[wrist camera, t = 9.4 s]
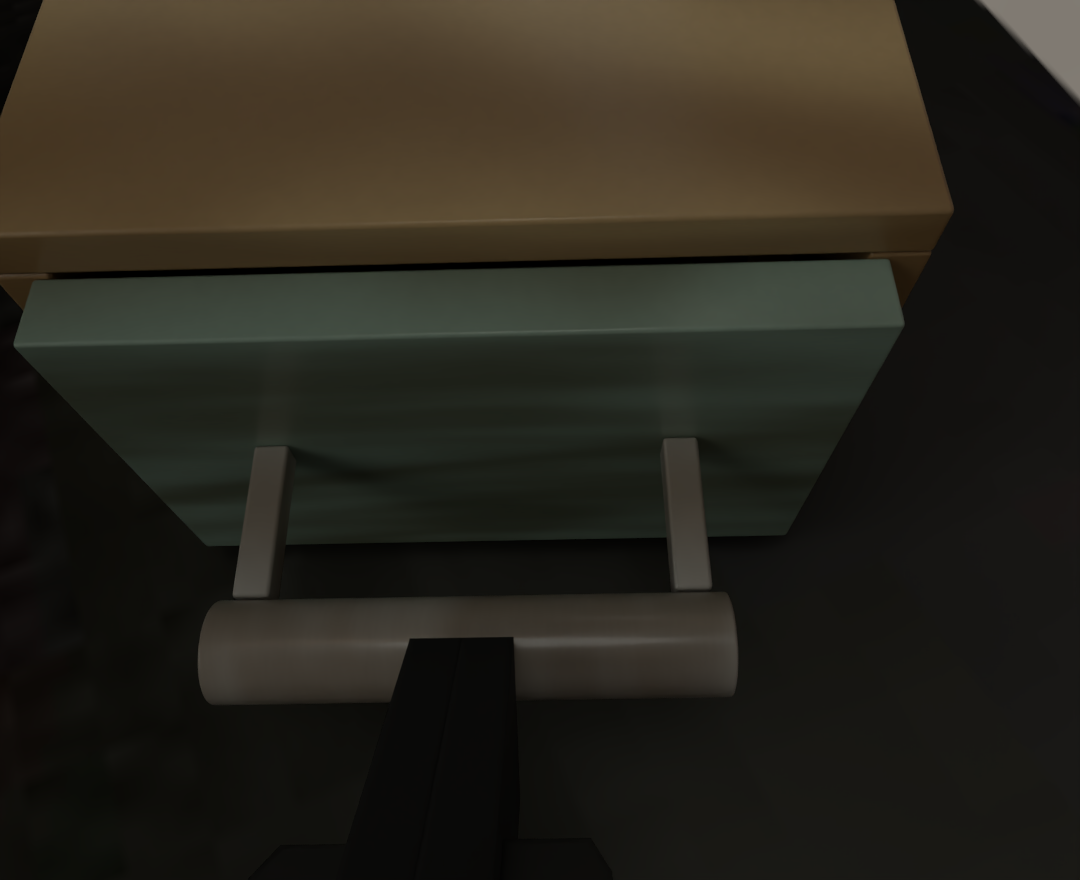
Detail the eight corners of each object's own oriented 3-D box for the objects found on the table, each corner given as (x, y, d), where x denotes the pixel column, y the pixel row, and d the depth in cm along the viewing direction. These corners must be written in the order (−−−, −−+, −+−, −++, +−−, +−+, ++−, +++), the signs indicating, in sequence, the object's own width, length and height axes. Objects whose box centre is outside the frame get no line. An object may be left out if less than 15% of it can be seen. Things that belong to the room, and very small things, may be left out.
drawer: (816, 743, 18) (978, 628, 11) (170, 753, 18) (-84, 647, 11) (718, 65, 26) (772, -242, 19) (285, 77, 27) (186, -221, 20)
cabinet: (797, 502, 21) (957, 210, 12) (203, 514, 21) (-48, 236, 13) (725, 36, 28) (795, -352, 20) (284, 49, 29) (161, -328, 20)
